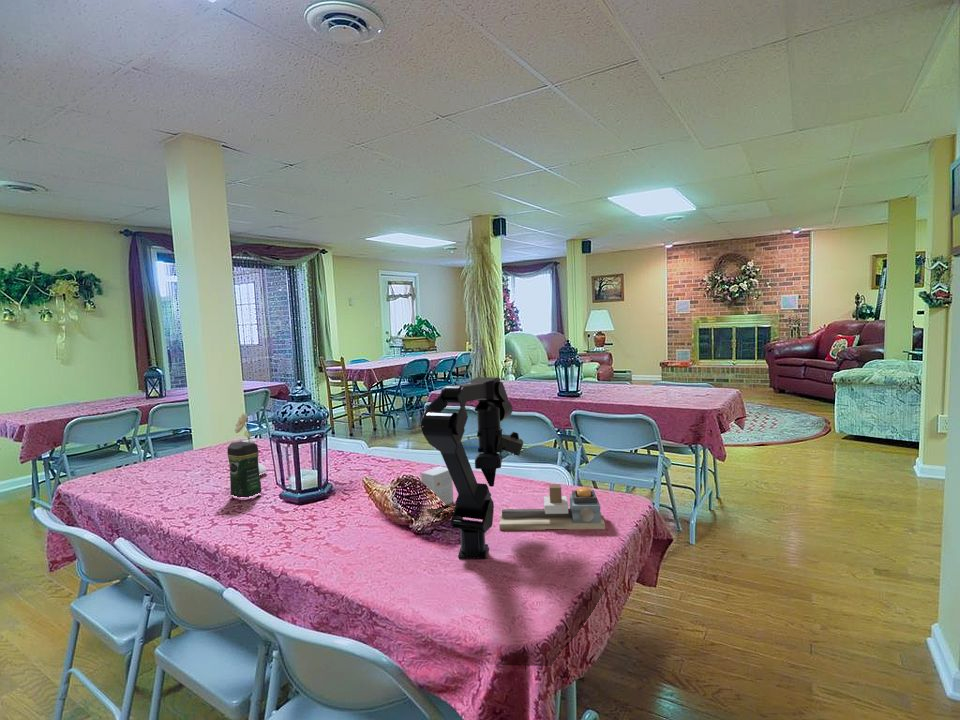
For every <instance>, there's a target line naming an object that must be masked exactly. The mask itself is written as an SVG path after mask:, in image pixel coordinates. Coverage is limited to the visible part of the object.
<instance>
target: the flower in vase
mask: <svg viewBox="0 0 960 720" xmlns="http://www.w3.org/2000/svg"><path fill="white" fill-rule="evenodd" d="M247 419H248V414H247V413H246V412H245V413H242V414H241V416H240V417H238V421H237V423H236V424H235V429H234V432H235V433H236V434H238V433H240V432H241V431H242V430H243V429H244V427H245V428H246V429H247V430H245V431H244V432H243V435H244V436H245V437H246V438H247V439H246V440H245V439H244V440H241V441H242V442H249V443H255V444H256V441H257V439H251V437H252V435H251V432H250V430H249V428H248V426H247V424H246V423H247ZM258 465H259V474H260V473H263V472H265V471H266V470H267V471H268V468H267V467H266V466H265V465H263V464H262V463H260V462H258Z"/></svg>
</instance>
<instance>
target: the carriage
mask: <svg viewBox="0 0 960 720" xmlns="http://www.w3.org/2000/svg"><path fill="white" fill-rule="evenodd" d="M548 488H549V492H548V494H549V495H548V496H544V495H543V506H544V508H543V509H545V514H568V509H569V504H568V500H567V499H568V498H567V495H562V485H561V483H559V484H558V483H553V484H552V483H551V484H548Z"/></svg>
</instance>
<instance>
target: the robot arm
mask: <svg viewBox="0 0 960 720" xmlns="http://www.w3.org/2000/svg"><path fill="white" fill-rule="evenodd" d="M476 400H477V401H478V403H477V405H475V408H474V411H475V412H476V414H477V432H476V433H477V435H476V436H477V437H478V447H477V453H478V454H477V455H476V456H475V459H474V468H475V469H476V470H481V472H482V474H483V476H484V478H485V481H486V482H487V484H486V483H480V482H478V481H477V479H476V476H475V474H474V472H473V469H472V465H471V463H470V461H469V458H468V455H467V453H466V451H465V448H464V446H463V443H462V440H463V436H464V434H465V431H466V430H465V427H466V423H467V421H468V419H469V415H468V413H467V409H466V405H467V402H471V401H476ZM448 404H449V405H451V404H452V405H453V404H454V405H455V404H456V405H457V404H458V405H459V410H458V412H454V411H453V412H452V411H450V412H447V411H446V412H445V411H443V410H444V409H445V408H446V407H448ZM512 405H513V404H512V403H511V401H510V400H509V397H508V394H507V391H506V388H505V386H504V382H503V381H501V378H500V377H495V376H492V377H491V376H490V377H489V376H488V377H487V376H486V377H485V376H483V377H474V378H473V379H471V380H470V382H469V383H464V384H462V383H461V384H456V385H446V386H443V387H442V389H441V390H440V393H439V395H438V396H437V397H435V399H433V401H432V402H431V403H429V404H428V405H427V407H426V409H425V411H424V414H423V417H422V419H421V422H420V428H421V429H420V430H421V432H422V435H423V437H424V439H426V442H427V443H428V444H429V445H430V446H431V447H433V448H434V449H436V450H437V451H439V452H440V454H441V457H442V459H443V461H444V464H445V466H446V468H447V469H448V471H449V473H450V476H451V478H452V482H453V486H454V487H455V489H456V491H457V498H456V500H455V501H454V504H455V506H454V509H453V513H452V516H451V519H450V525H451V529H453V530H454V529H455V530H459V531H460V548H459V551H458V557H457V558H458V559H487V556H488V549H489V544H488V543H487V544H486V533H487V531H488V530H490V528H492V526H493V521H494V520H493V519H494V509H495V506H494V505H495V504H494V503H495V502H494V501H493V499H492V497H491V496H492V493H491V492H490V489H489V487H491V488H492V487H494V486H495V481H496V474H497V469H501V468H502V464H503V459H504V458H503V455H500V453H502V452H504V451H505V452H508V453H511V454H513V455H515V456H517V457H519V456H520V455H521V452H522V450H523V449H522V448H523V447H524V440H522V438H520V436H519V433H518V432H515V431H512V432H511V433H510V434H505V433H503V429H502V428H501V422H503V421H504V420H506V419H508V418H509V417H511V415H512V413H513V411H514V410H513V406H512ZM464 518H467V519H464ZM471 519H472V520H471ZM473 519H474V520H473ZM479 520H480V521H479Z"/></svg>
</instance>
